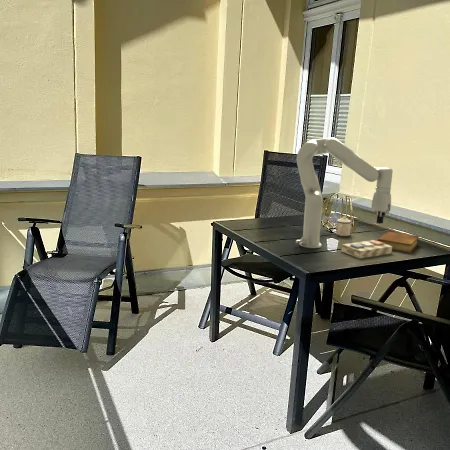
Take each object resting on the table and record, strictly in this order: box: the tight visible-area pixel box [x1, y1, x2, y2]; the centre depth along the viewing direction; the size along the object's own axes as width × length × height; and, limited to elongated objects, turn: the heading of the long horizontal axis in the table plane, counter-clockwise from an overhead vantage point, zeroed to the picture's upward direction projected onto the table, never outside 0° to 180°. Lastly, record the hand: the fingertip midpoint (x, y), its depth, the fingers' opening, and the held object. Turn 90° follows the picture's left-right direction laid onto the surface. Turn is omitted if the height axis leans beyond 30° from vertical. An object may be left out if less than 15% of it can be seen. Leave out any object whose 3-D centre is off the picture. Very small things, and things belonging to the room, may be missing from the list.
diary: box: [376, 231, 419, 254], centre depth 262 cm, size 23×19×6 cm
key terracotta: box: [370, 240, 384, 246], centre depth 249 cm, size 5×5×2 cm
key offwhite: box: [361, 242, 374, 247], centre depth 246 cm, size 5×5×2 cm
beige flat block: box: [340, 239, 393, 259], centre depth 246 cm, size 24×14×4 cm, turn 118°
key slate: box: [351, 243, 364, 249], centre depth 242 cm, size 5×5×2 cm
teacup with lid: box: [335, 216, 352, 237], centre depth 282 cm, size 12×9×12 cm
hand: (379, 222), depth 246 cm, fingers closed
